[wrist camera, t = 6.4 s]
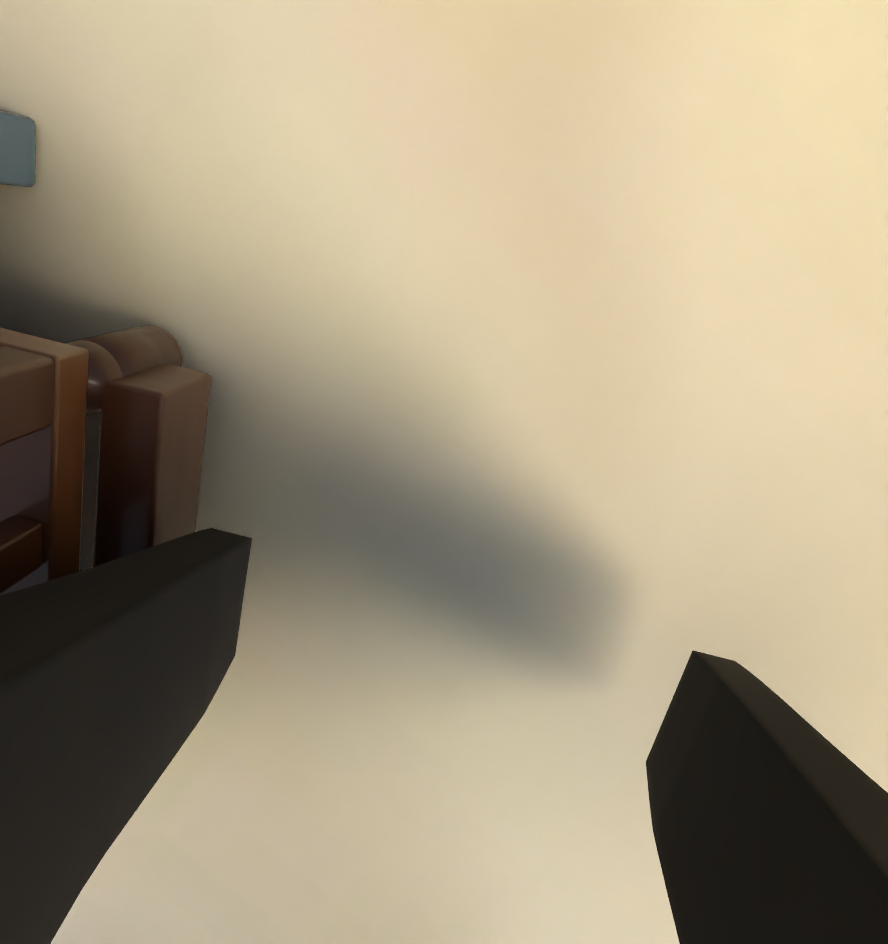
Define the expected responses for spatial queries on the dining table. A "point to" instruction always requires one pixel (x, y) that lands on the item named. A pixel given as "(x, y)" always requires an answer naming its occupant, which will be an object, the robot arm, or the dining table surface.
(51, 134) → the dining table surface
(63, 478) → the chair
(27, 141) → the table
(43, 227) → the dining table surface
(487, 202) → the dining table surface
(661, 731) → the robot arm
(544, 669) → the dining table surface
